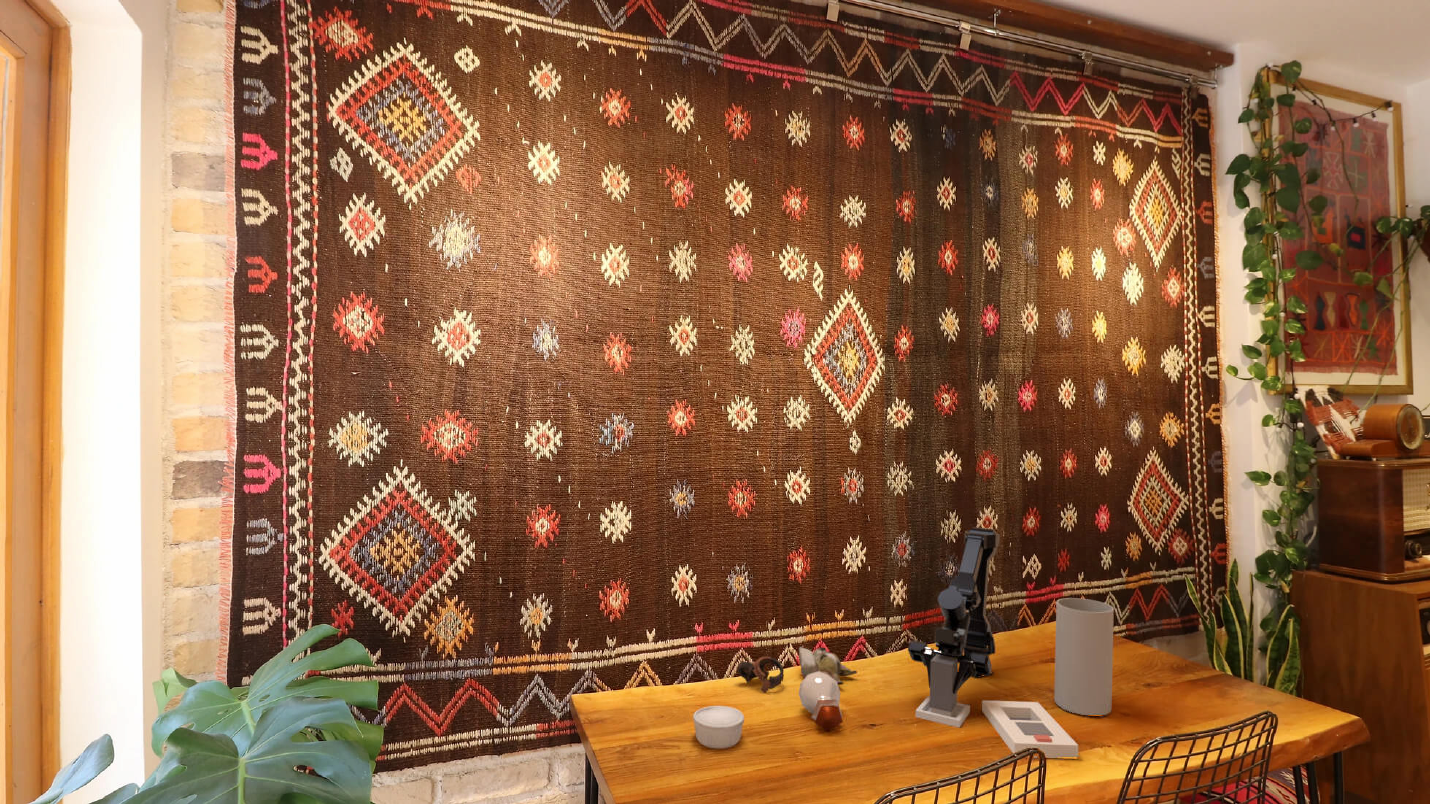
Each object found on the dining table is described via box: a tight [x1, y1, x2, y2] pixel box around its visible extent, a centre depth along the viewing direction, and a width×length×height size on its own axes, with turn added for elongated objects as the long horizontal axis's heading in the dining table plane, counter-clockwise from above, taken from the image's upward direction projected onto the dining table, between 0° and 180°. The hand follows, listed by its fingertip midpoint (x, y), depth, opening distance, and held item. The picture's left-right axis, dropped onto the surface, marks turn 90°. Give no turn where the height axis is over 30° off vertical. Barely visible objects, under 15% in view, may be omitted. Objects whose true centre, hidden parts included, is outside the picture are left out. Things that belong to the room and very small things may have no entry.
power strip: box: [981, 699, 1079, 759], centre depth 168 cm, size 22×13×4 cm, turn 177°
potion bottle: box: [798, 671, 844, 733], centre depth 175 cm, size 10×10×15 cm
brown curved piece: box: [736, 656, 785, 693], centre depth 194 cm, size 12×10×8 cm
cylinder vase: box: [1054, 597, 1115, 716], centre depth 184 cm, size 12×12×25 cm
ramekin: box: [692, 705, 745, 750], centre depth 164 cm, size 11×11×5 cm
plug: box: [929, 654, 959, 717], centre depth 177 cm, size 5×5×13 cm
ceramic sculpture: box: [798, 646, 858, 686], centre depth 199 cm, size 11×9×15 cm
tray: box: [915, 695, 971, 728], centre depth 177 cm, size 10×10×2 cm
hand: (941, 690), depth 176 cm, fingers closed on plug, 5 cm apart
